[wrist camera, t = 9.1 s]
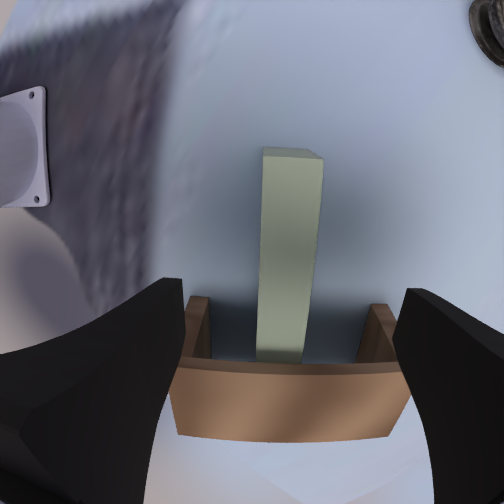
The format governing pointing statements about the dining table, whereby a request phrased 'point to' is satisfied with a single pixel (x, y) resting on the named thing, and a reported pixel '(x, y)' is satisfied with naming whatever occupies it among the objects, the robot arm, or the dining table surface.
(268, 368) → the wooden bridge block
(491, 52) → the salt shaker
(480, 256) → the dining table surface
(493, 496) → the robot arm
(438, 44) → the dining table surface
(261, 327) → the bar
